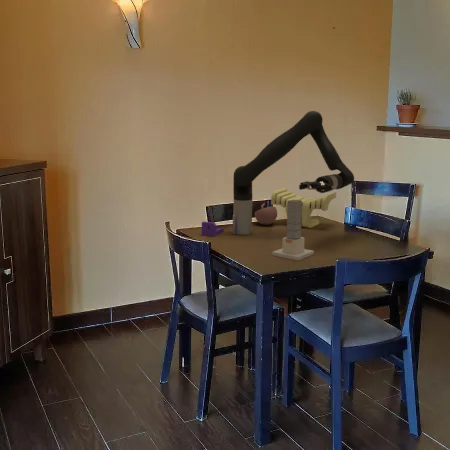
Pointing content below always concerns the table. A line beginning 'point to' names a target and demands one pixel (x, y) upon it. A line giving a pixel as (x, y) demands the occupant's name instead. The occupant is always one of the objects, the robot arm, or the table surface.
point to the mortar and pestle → (266, 215)
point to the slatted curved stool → (308, 204)
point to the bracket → (210, 229)
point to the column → (294, 219)
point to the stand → (293, 249)
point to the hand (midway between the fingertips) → (308, 188)
